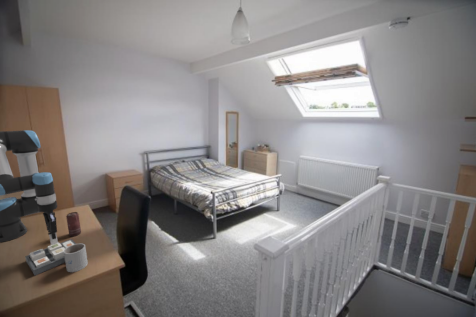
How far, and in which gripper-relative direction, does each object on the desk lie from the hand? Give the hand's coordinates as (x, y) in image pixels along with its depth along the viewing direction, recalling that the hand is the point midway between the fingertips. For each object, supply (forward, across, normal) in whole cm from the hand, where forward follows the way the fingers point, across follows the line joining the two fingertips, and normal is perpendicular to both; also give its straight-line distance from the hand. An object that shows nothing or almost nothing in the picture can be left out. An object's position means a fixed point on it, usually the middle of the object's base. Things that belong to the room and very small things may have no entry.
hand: (54, 243), depth 117 cm
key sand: (+5, +7, 0) cm, 8 cm away
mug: (+7, +18, +4) cm, 20 cm away
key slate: (+4, 0, -7) cm, 8 cm away
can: (+7, -16, +14) cm, 22 cm away
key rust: (+6, +7, -7) cm, 12 cm away
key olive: (+4, 0, 0) cm, 4 cm away
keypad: (+7, +3, -1) cm, 8 cm away
